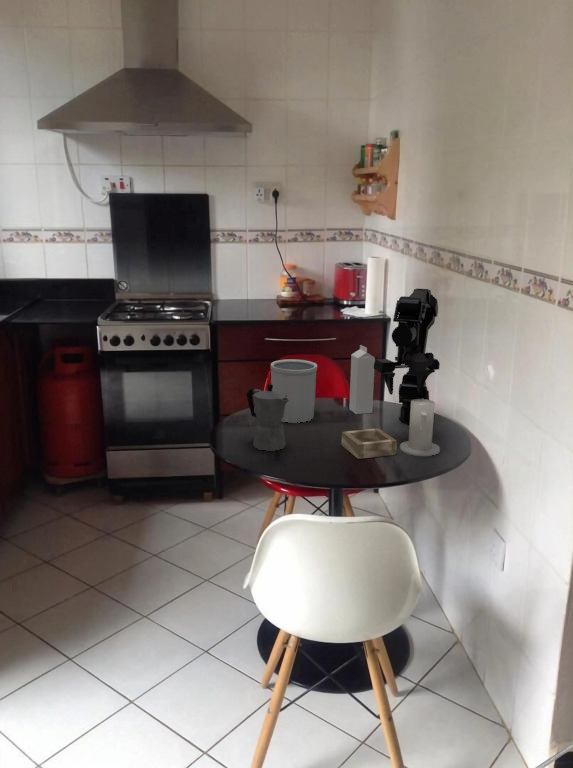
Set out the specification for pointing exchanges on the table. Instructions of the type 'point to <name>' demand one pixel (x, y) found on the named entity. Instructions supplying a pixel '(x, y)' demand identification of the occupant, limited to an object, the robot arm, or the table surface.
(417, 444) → the jug
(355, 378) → the milk
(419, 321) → the robot arm
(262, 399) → the coffeepot
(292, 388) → the utensil holder
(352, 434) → the stand
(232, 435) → the table surface
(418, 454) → the mat
